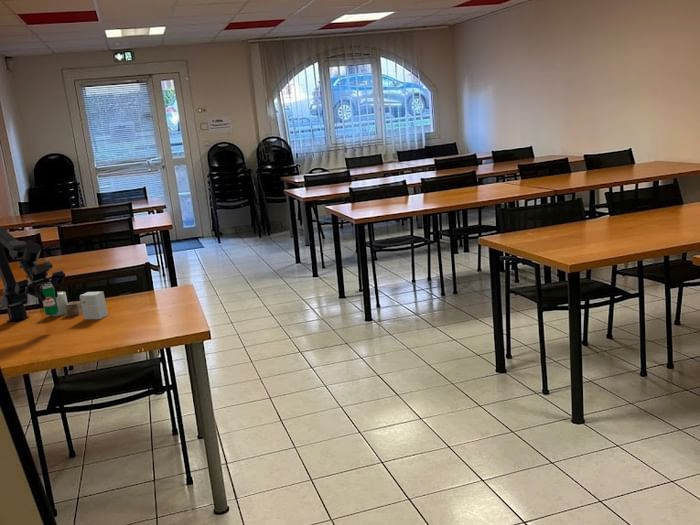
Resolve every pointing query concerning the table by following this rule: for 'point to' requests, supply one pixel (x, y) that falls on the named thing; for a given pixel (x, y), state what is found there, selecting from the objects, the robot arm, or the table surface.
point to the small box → (93, 305)
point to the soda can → (49, 299)
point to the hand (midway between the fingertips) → (50, 298)
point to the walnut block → (74, 308)
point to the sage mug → (61, 303)
